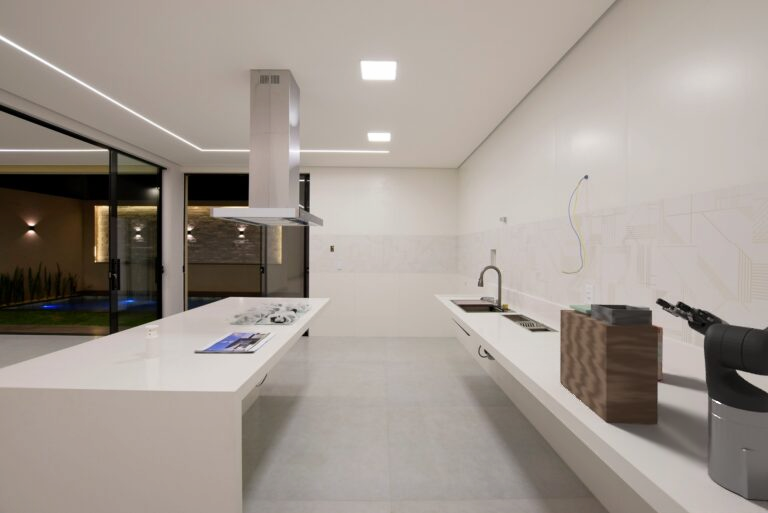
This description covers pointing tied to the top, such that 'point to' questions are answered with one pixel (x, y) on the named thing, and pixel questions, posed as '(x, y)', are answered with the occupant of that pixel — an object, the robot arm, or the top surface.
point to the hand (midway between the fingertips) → (667, 302)
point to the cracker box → (660, 351)
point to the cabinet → (612, 362)
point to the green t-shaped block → (587, 309)
